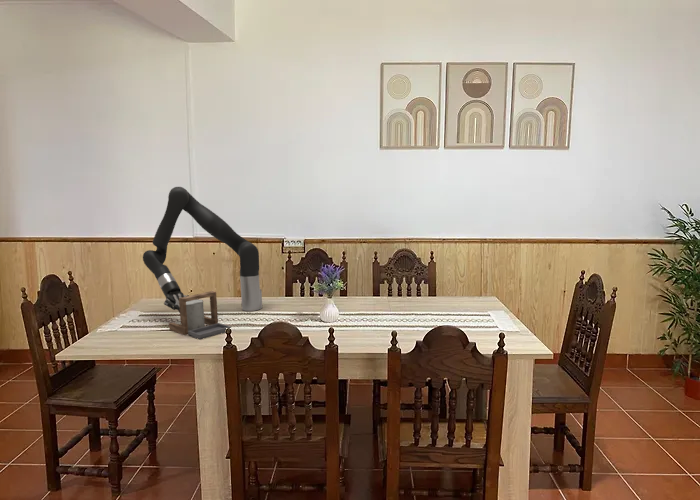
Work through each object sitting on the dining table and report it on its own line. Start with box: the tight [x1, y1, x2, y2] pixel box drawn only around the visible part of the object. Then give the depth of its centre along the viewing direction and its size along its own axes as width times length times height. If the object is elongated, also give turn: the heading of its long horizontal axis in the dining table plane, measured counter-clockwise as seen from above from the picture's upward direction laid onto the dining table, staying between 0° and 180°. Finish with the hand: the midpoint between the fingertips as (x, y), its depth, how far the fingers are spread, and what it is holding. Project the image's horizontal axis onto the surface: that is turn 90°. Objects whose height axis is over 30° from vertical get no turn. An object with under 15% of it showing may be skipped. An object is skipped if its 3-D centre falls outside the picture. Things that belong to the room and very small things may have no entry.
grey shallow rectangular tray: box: [187, 322, 232, 340], centre depth 273 cm, size 16×9×2 cm, turn 136°
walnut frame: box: [168, 290, 219, 336], centre depth 280 cm, size 17×13×16 cm
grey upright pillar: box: [186, 299, 206, 331], centre depth 280 cm, size 10×10×12 cm
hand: (185, 315), depth 285 cm, fingers closed
